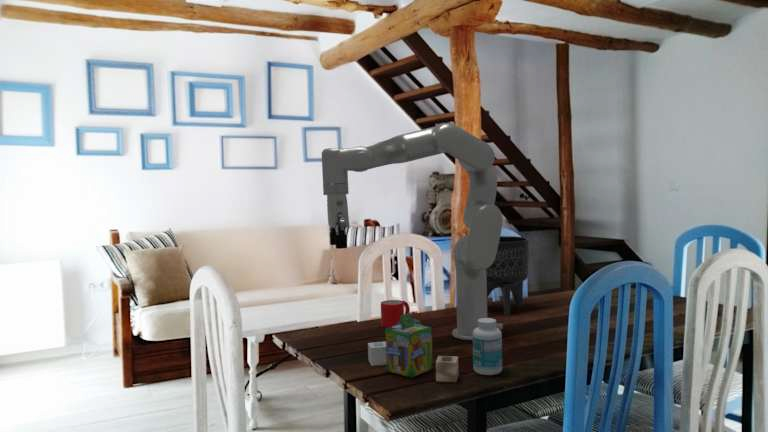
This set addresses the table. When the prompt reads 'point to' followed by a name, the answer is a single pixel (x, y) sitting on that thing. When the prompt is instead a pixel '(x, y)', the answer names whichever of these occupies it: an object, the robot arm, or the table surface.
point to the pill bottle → (487, 347)
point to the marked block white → (377, 353)
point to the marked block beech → (447, 369)
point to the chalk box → (408, 348)
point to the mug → (392, 312)
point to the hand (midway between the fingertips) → (338, 246)
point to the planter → (509, 270)
